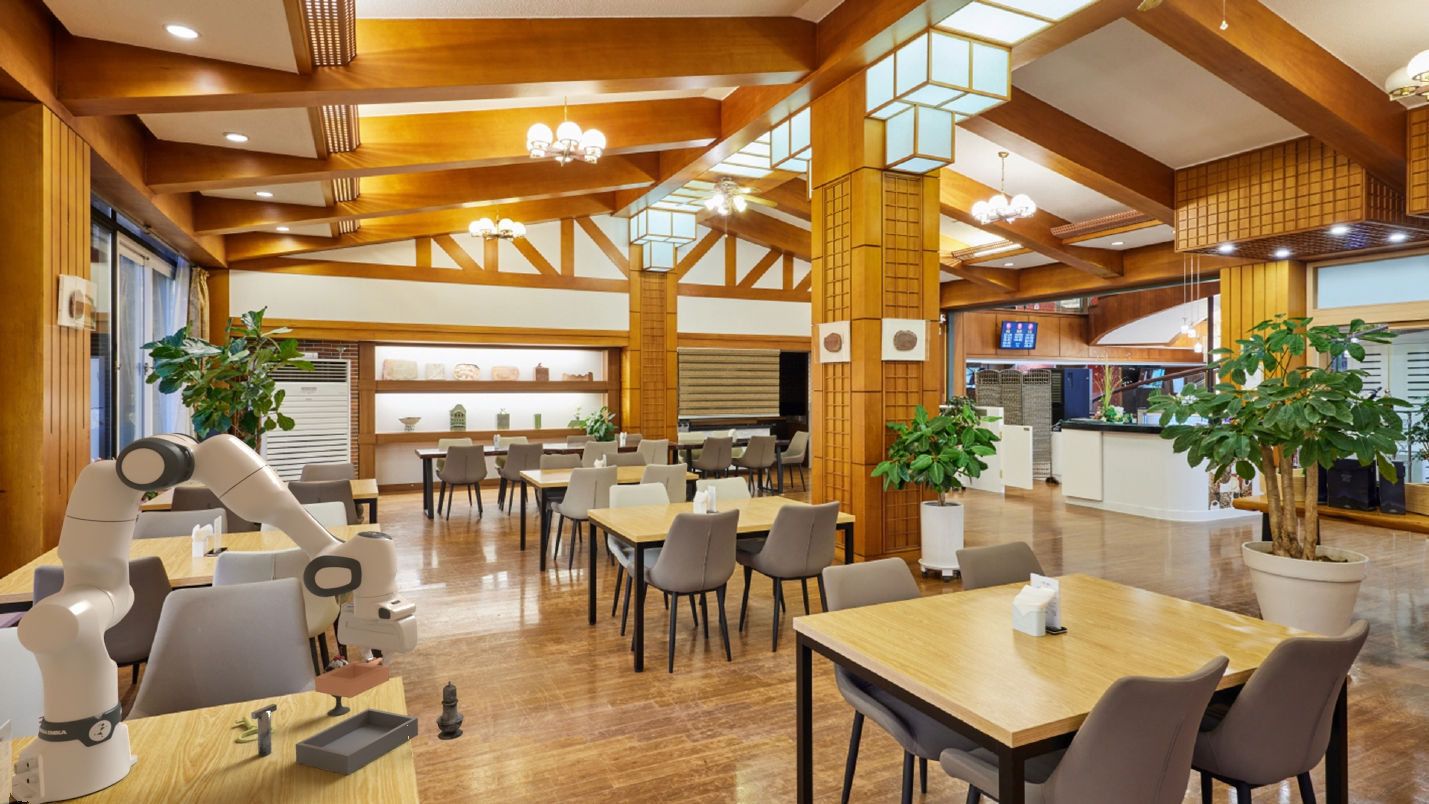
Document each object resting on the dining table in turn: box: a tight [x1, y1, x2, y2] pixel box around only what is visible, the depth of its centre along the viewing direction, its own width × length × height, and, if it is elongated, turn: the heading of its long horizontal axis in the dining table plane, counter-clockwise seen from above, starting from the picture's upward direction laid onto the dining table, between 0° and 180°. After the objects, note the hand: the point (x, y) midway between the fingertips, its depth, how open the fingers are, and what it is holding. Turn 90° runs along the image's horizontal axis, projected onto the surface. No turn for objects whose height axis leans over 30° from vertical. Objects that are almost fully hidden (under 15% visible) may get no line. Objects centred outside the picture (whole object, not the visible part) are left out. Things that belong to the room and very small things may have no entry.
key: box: [234, 715, 276, 744], centre depth 165 cm, size 7×12×2 cm, turn 64°
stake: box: [250, 703, 278, 757], centre depth 155 cm, size 2×5×10 cm, turn 158°
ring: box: [314, 657, 390, 699], centre depth 157 cm, size 14×10×3 cm
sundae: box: [322, 646, 351, 717], centre depth 176 cm, size 7×7×15 cm
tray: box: [295, 707, 419, 776], centre depth 157 cm, size 15×19×4 cm
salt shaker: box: [435, 680, 465, 741], centre depth 163 cm, size 6×6×12 cm
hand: (377, 667), depth 162 cm, fingers closed on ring, 3 cm apart
